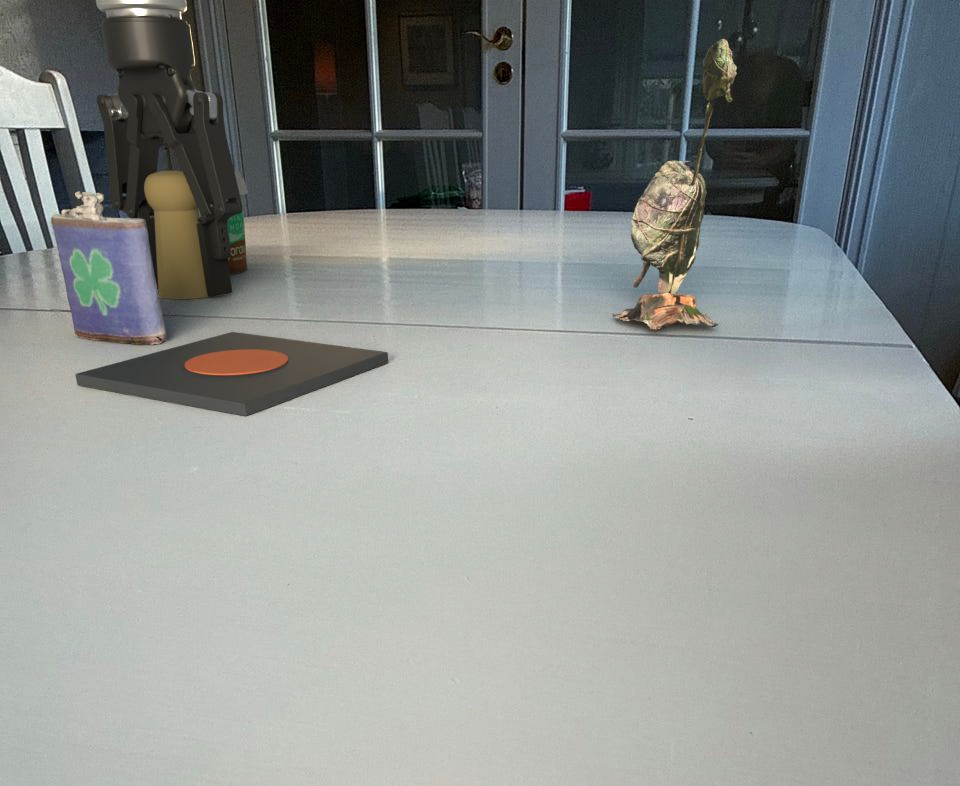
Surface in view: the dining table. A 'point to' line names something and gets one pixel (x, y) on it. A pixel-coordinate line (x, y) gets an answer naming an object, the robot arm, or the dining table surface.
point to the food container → (237, 234)
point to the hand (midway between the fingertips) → (189, 290)
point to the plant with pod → (676, 216)
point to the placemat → (233, 372)
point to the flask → (108, 274)
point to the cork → (176, 236)
